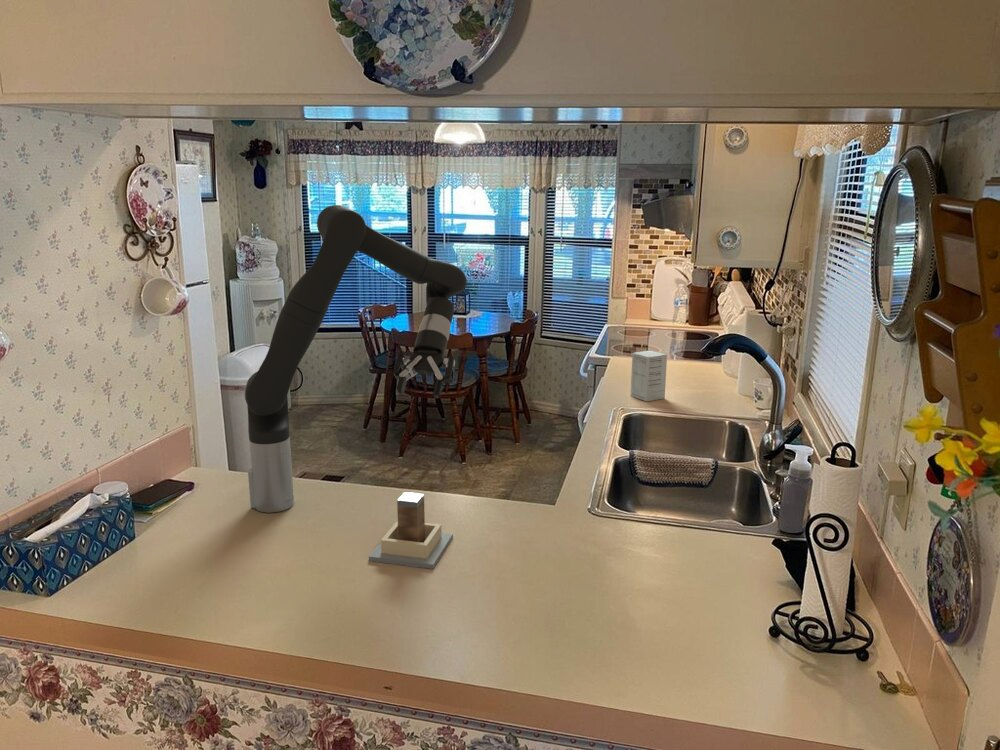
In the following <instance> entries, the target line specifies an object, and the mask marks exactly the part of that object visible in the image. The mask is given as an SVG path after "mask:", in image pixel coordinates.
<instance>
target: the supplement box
mask: <svg viewBox="0 0 1000 750" xmlns="http://www.w3.org/2000/svg"><path fill="white" fill-rule="evenodd" d="M631 354H632V355H631V356H632V357H631V359H632V360H631V376H630V377H631V378H630V397H633V398H636V399H638V400H640V401H641V400H642V401H644V402H651V401H657V400H663V399H666V382H667V381H666V379H667V363H668V354H665V353H663V352H662V353H661V352H658V351H655V350H644V351H636V352H632V353H631Z"/></svg>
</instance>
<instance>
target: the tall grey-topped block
mask: <svg viewBox="0 0 1000 750" xmlns="http://www.w3.org/2000/svg"><path fill="white" fill-rule="evenodd" d="M396 503H397V507H396V509H397V510H396V511H397V520H398V540H405V541H413V542H422V543H424V541H425V523H426V519H425V494H424V493H418V492H408V491H404V492H403V493H402V494H401V496H399V497H398V498H397V499H396Z"/></svg>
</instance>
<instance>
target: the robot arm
mask: <svg viewBox="0 0 1000 750" xmlns="http://www.w3.org/2000/svg"><path fill="white" fill-rule="evenodd" d="M316 227H317V230H318V233H319V235H320V237H321V238H322V239H323V240H322V243H321V246H320V248H319V251H318V254H317V256H316V257H315V260H314V261H313V263H312V264H311V266H310V267H309V268H308V269H307V270H306V272H304V274H303V275H302V276H301V277H300V278H299V279H298V281H297V282H296V283H295V284H294V285H293V287H292V288H291V290H290V291H289V293H288V296H287V297H286V299H285V302H284V304H283V306H282V308H281V310H280V313H279V315H278V318H277V320H276V323H275V326H274V331H273V333H272V336H271V341H270V343H269V348H268V351H267V353H266V355H265V357H264V359H263V361H262V363H261V365H260V366H259V368H258V370H257V371H255V372H254V373H253V374H252V375H250V376H249V378H248V380H247V381H246V386H245V389H244V390H245V391H244V400H245V402H246V405H247V407H246V408H247V424H248V425H247V426H248V427H247V428H248V429H247V430H248V440H249V442H248V443H249V453H250V465H251V466H250V467H251V468H250V469H249V470H248V471H247V476H248V488H249V502H250V508H251V509H255V510H256V511H258V512H261V513H267V514H268V513H269V514H270V513H278V512H283V511H286V510H288V509H290V508H292V506H293V505H294V504H295V500H294V499H295V497H294V496H295V495H294V484H293V483H294V482H293V480H294V479H293V464H292V452H291V437H290V436H291V435H290V434H291V433H290V417H289V415H290V414H289V400H288V399H289V398H288V395H289V391H290V388H291V384H292V383H293V379H294V376H295V374H296V371H297V370H298V369H297V368H298V367H299V364H300V363H301V361H302V359H303V357H304V356H305V354H306V352H307V351H308V349H309V347H310V346H311V343H312V342H313V340H314V338H315V336H316V335H317V333H318V331H319V330H320V326H321V325H322V323H323V321H324V319H325V316H326V314H327V312H328V310H329V307H330V304H331V303H332V300H333V299H334V295H336V294H335V293H336V292H337V289H338V287H339V285H340V283H341V281H342V279H343V276H344V274H345V272H346V270H347V269H348V267H349V265H350V263H351V262H352V260H353V258H354V257H355V255H356V253H358V252H359V253H362V254H364V255H365V256H367V257H369V258H371V259H373V260H375V261H376V262H377V263H380V264H381V265H383V266H384V267H385V268H387V269H389V270H391V271H393V272H394V273H396V274H398V275H399V276H401V277H404V278H405V279H407V280H410V281H411V282H413V283H415V284H419V285H423V284H426V286H425V296H426V297H425V302H426V304H425V305H426V306H425V310H424V314H423V317H422V320H421V322H420V324H419V326H418V327H419V328H418V331H417V335H416V339H415V342H414V345H413V351H412V353H411V354H410V355H404V353H403V352H401V353H399V354H398V356H397V359H396V362H395V365H394V368H393V371H392V374H393V376H394V377H395V379H396V380H397V381H398V382H397V386H396V391H397V392H398V394H399V396H404V395H405V390H406V387H407V384H408V383H407V381H408V380H410V379H411V378H415V376H416V375H417V374H418V375H422V376H423V375H425V376H426V375H428V376H431V375H433V374H434V375H435V378H436V380H435V384H434V388H433V394H432V395H433V397H434V399H438V398H439V397H441V396H442V392H443V389H444V386H445V384H447V383H448V384H452V383H453V382H454V377H455V371H456V370H455V369H456V365H457V364H456V360H455V357H454V356H452V355H451V356H449V357H448V358H447V357H445V355H446V350H447V346H448V342H449V340H450V333H451V325H452V322H453V319H454V312H455V305H454V304H453V302H452V301H451V300H450V298H452V297H453V296H456V295H458V294H459V293H461V292H464V289H466V286H467V284H468V282H467V281H468V280H467V276H466V274H465V273H464V271H463V270H462V269H461V268H460V267H459V266H457V265H455V264H453V263H451V262H447V261H443V260H439V259H435V258H431V257H428V256H427V255H424V253H423V254H422V253H421V252H419V251H417V250H416V249H413V248H412V247H411V246H408V245H406V244H404V243H402V242H399V241H397V240H394V239H393V238H390V237H389V236H386V235H384V234H382V233H381V232H379V231H377V230H375V229H374V228H371V227H370V226H368V225H367V224H366V221H365V220H364V218H363V216H362V215H361V214H360V213H359V212H357V211H356V210H353V209H351V208H349V207H347V206H345V205H340V204H333V205H328V206H327V207H325V208H323V209H322V210H321V211H320V212H319V214H318V216H317V220H316ZM409 362H410V363H409ZM407 364H408V365H407ZM444 365H445V366H446V372H445V375H442V372H441V371H440V368H442V367H443V366H444ZM404 367H405V369H404Z"/></svg>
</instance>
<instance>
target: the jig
mask: <svg viewBox="0 0 1000 750" xmlns="http://www.w3.org/2000/svg"><path fill="white" fill-rule="evenodd" d="M453 539H454V534H453V533H448V532H447V533H446V532H442V524H441V523H440V524H439V523H431V522H425V541H424V543H422V542H413V541H405V540H398V519H397V520H396V522H395V523H394V524H392V526H391V527H390V529H389V530H388V531H387V532H386V533H385V535H384V536H383V537H382V538H381V539H380V542H379V543H378V545H377V546H376V547H375V549H373V551H372V552H371V553H370V555H368V561H369V562H377V563H383V564H391V565H399V566H406V567H414V568H415V567H416V568H423V569H431V570H433V569H435V567H436V566H437V564H438V563H439V561H440V560H441V557H442V556H443V555H444V552H445V551H446V550H447V548H448V546H449V545H450V543H451V542H452V540H453Z"/></svg>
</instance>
